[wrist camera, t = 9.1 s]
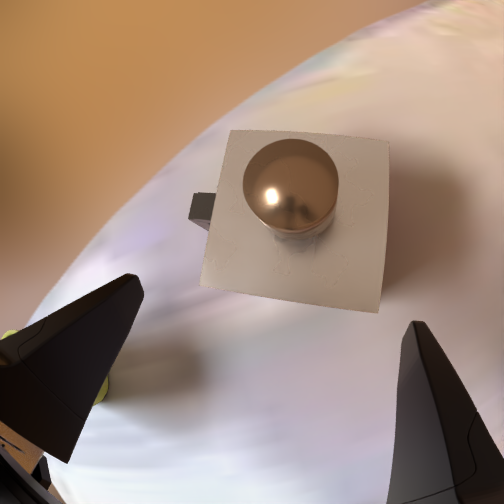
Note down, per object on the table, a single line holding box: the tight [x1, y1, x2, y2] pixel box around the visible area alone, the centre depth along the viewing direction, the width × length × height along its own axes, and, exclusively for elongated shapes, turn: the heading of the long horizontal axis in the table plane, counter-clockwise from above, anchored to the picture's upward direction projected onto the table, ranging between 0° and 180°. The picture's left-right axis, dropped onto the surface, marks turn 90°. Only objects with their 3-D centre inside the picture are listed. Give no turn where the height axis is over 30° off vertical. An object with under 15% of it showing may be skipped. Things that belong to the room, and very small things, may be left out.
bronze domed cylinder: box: [243, 139, 339, 241], centre depth 15 cm, size 4×4×9 cm
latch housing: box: [188, 130, 389, 313], centre depth 18 cm, size 9×11×7 cm
